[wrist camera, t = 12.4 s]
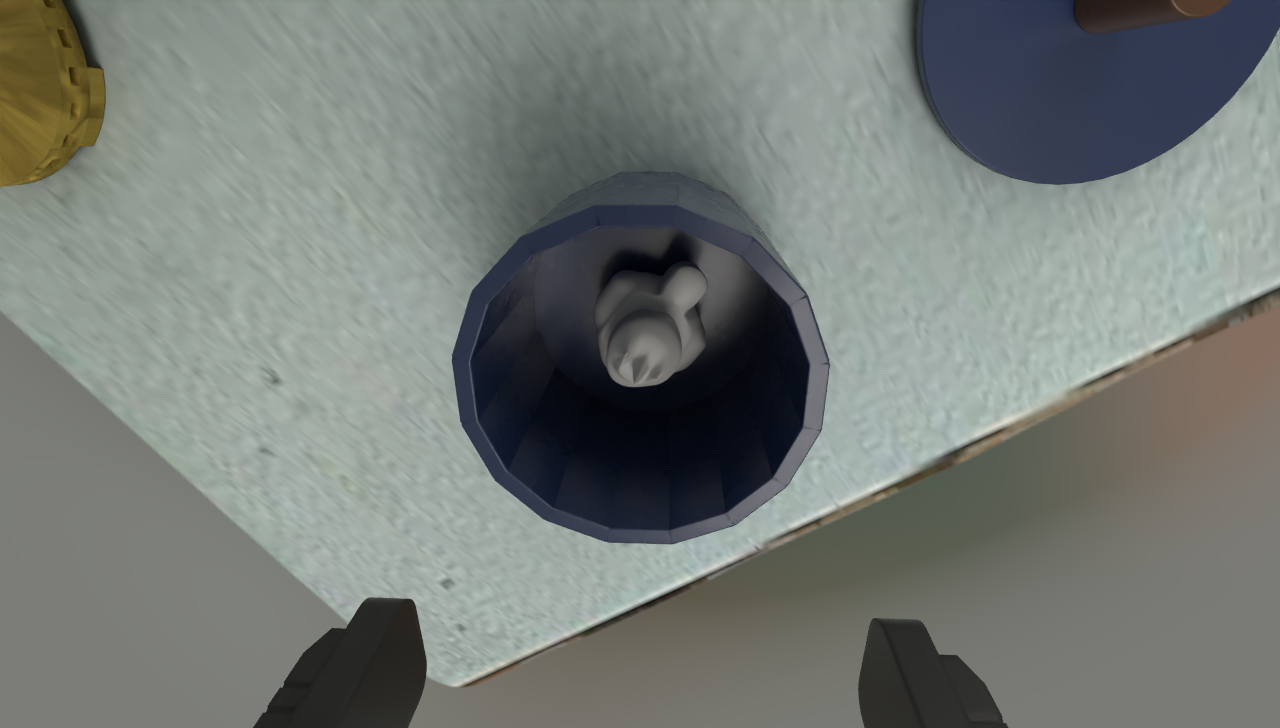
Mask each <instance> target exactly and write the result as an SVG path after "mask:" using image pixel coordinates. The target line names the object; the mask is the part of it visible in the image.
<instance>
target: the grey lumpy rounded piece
mask: <svg viewBox="0 0 1280 728" xmlns="http://www.w3.org/2000/svg"><path fill="white" fill-rule="evenodd" d="M707 289H708V282H707V279H706V276H705V275H704V273H703V272H702V271H701V270H700V269H699V267H698V266H697V265H696V264H695V263H693V262H690V261H682V262H678V263H675V264H673V265H672V266H671V267H670V268H668V270H667V271H666V272H665V274H664V275H663V276H660V275H656V274H652V273H648V272H642V273H640V272H635V271H631V270H623V271H620V272H618V273H616V274H615V275H614V276H613V277H612V278H611V280H610V281H609V282H608V283H607V285H606V286H605V287H604V289H603V290H602V291H601V292H600V294H599V295H598V297H597V300H596V303H595V309H594V320H595V324H596V327H597V340H598V346H599V350H600V355H601V359H602V361H603V363H604V365H605V366H606V367H607V370H608V372H609V375H610V376H611V378H612V379H613V380H614V381H615V382H617V383H619V384H621V385H623V386H627V387H643V386H651V385H657V384H660V383H662V382H664V381H665V380H667V379H668V378H669V377H670V376H671V375H672V374H673V373H675V372H678V371H681V370H683V369H685V368H687V367H688V366H689V365H690V364H691V363H692V362H693V361H694V360H695V359H696V358H697V357H698V355H699V354H700V353H701V352H702V351H703V350H704V348H705V346H706V334H705V329H704V327H703V324H702V322H701V319H700V315H699V312H698V310H697V309H696V307H695V304H696V303H697V302H698V301H699V300H700V299H701V298H702V297H703V296H704V294H705V293H706V292H707Z"/></svg>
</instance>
